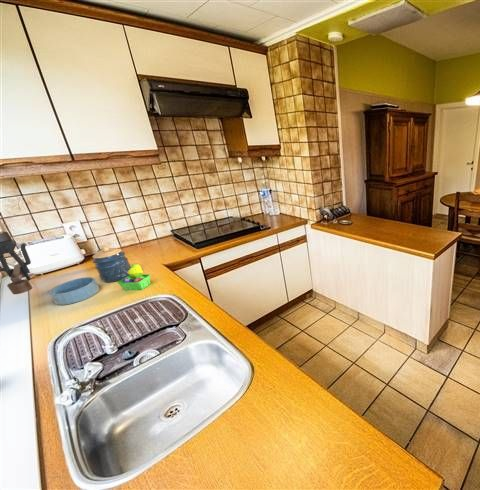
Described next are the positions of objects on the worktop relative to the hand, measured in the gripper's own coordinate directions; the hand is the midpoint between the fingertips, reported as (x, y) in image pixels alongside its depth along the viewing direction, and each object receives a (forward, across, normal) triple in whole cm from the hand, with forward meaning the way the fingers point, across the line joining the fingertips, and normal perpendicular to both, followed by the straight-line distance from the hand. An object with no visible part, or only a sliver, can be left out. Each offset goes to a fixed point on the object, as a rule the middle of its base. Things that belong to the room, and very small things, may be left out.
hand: (24, 280), depth 123 cm
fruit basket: (+11, +35, -28) cm, 46 cm away
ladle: (0, 0, -4) cm, 4 cm away
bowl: (+10, +14, -14) cm, 22 cm away
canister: (+10, +30, -5) cm, 32 cm away
